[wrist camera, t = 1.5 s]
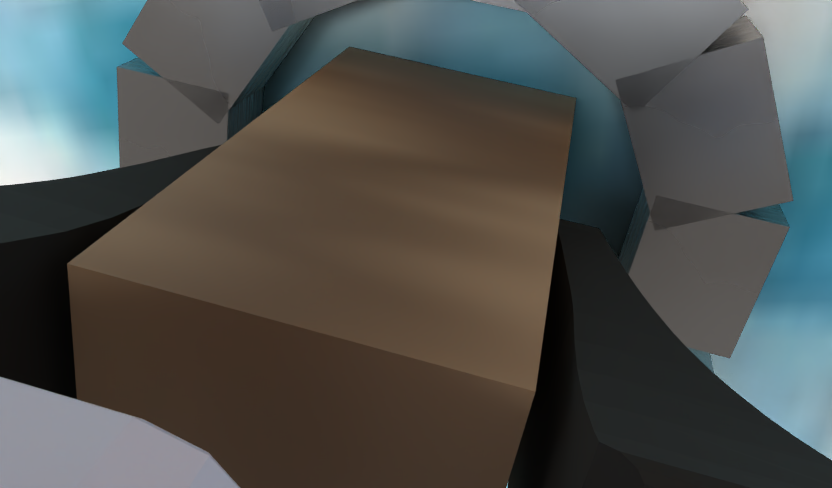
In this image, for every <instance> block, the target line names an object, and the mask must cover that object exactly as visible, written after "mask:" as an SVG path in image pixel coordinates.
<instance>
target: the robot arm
mask: <svg viewBox="0 0 832 488" xmlns="http://www.w3.org/2000/svg"><path fill="white" fill-rule="evenodd" d="M220 146H221V145H218V146H213V147H209V148H204V149H200V150H196V151H191V152H187V153H183V154H179V155H175V156H171V157H166V158H162V159H158V160H154V161H150V162H146V163H141V164H136V165H131V166H127V167H122V168H117V169H112V170H107V171H102V172H97V173H92V174H87V175H82V176H76V177H70V178H63V179H56V180H50V181H41V182H32V183H24V184H15V185H4V186H0V488H240V487H239V486H238V485H237V483H236V482H235V481H234V480H233V479H232V478H231V477H230V476H229V475H228V473H227V472H226V471H225V470H224V469H223V468H222V467H221V466H220V465H219V463H218V462H217V461H216V460H215V459H214V458H213V457H212V456H211V455H210V453H208V452H207V451H205V450H203V449H201V448H199V447H197V446H195V445H193V444H191V443H189V442H187V441H185V440H183V439H181V438H179V437H177V436H175V435H173V434H171V433H169V432H167V431H165V430H164V429H162V428H160V427H158V426H156V425H154V424H152V423H150V422H148V421H146V420H144V419H142V418H138V417H135V416H131V415H128V414H125V413H121V412H118V411H114V410H111V409H108V408H104V407H101V406H98V405H94V404H91V403H87V402H84V401H81V400H77V392H76V379H75V365H74V351H73V337H72V324H71V310H70V296H69V282H68V269H67V263H69V262H70V261H71V260H72V259H74V258H75V257H76V256H78V255H79V254H80V253H82V252H83V251H84V250H85V249H87V248H88V247H89V246H91V245H92V244H93V243H95V242H96V241H97V240H98V239H100V238H101V237H102V236H104V235H105V234H106V233H108V232H109V231H110V230H112V229H113V228H114V227H115V226H117V225H118V224H119V223H121V222H122V221H123V220H125V219H126V218H127V217H128V216H130V215H131V214H132V213H134V212H135V211H136V210H138V209H139V208H140V207H141V206H143V205H144V204H145V203H147V202H148V201H149V200H151V199H152V198H153V197H154V196H156V195H157V194H158V193H160V192H161V191H162V190H164V189H165V188H166V187H167V186H169V185H170V184H171V183H173V182H174V181H175V180H177V179H178V178H179V177H181V176H182V175H183V174H184V173H186V172H187V171H188V170H190V169H191V168H192V167H194V166H195V165H196V164H197V163H199V162H200V161H201V160H203V159H204V158H205V157H207V156H208V155H209V154H210V153H212V152H213V151H214V150H216V149H217V148H218V147H220ZM508 488H832V460H830V459H829V458H827V457H825V456H824V455H822V454H821V453H819V452H818V451H816V450H815V449H813V448H812V447H810V446H808V445H807V444H805V443H804V442H802V441H801V440H799V439H798V438H796V437H795V436H793V435H792V434H790V433H789V432H788V431H786V430H785V429H783V428H782V427H780V426H779V425H778V424H776V423H775V422H773V421H772V420H771V419H769V418H768V417H766V416H765V415H764V414H763V413H761V412H760V411H759V410H758V409H756V408H755V407H754V406H752V405H751V404H750V403H749V402H747V401H746V400H745V399H744V398H742V397H741V396H740V395H739V394H737V393H736V392H735V391H734V390H732V389H731V388H730V387H729V386H728V385H726V384H725V383H724V382H723V381H722V380H721V379H720V378H718V377H717V376H716V375H715V374H714V373H713V372H712V371H711V370H710V369H709V368H708V367H707V366H706V365H705V364H704V363H702V362H701V361H700V360H699V359H698V358H697V357H696V356H695V355H694V354H693V353H692V352H691V351H690V350H689V349H688V348H687V347H686V346H685V345H684V344H683V343H682V342H681V341H680V340H679V338H678V337H677V336H676V335H675V334H674V333H673V332H672V331H671V330H670V328H669V327H668V326H667V325H666V324H665V322H664V321H663V320H662V319H661V318H660V316H659V315H658V314H657V313H656V312H655V310H654V309H653V308H652V307H651V305H650V304H649V303H648V301H647V300H646V299H645V297H644V296H643V295H642V293H641V292H640V291H639V289H638V288H637V286H636V285H635V284H634V282H633V281H632V279H631V278H630V276H629V275H628V273H627V272H626V270H625V269H624V267H623V266H622V264H621V263H620V261H619V259H618V258H617V256H616V255H615V253H614V252H613V250H612V248H611V247H610V245H609V243H608V242H607V240H606V238H605V237H604V235H603V234H602V232H601V231H600V229H599V228H595V227H591V226H587V225H583V224H579V223H575V222H571V221H566V220H562V219H559V226H558V234H557V241H556V248H555V255H554V262H553V270H552V277H551V284H550V291H549V298H548V306H547V313H546V320H545V327H544V334H543V342H542V349H541V356H540V363H539V370H538V378H537V385H536V392H535V395H534V398H533V402H532V405H531V408H530V411H529V415H528V418H527V421H526V424H525V428H524V431H523V434H522V437H521V441H520V444H519V447H518V450H517V454H516V457H515V460H514V463H513V467H512V470H511V473H510V476H509V480H508Z"/></svg>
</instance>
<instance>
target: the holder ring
mask: <svg viewBox="0 0 832 488" xmlns="http://www.w3.org/2000/svg"><path fill="white" fill-rule="evenodd" d="M355 1H357V0H147V2H146V4H145V5H144V7H143V9H142V10H141V12H140V14H139V16H138V17H137V19H136V21H135V22H134V24H133V26H132V28H131V29H130V31H129V33H128V34H127V36H126V38H125V40H124V41H123V43H122V44H123V45H125V46H126V47H127V48H128V49H129V50H130V51H132V52H133V53H134V54H135V55H136V56H138V58H135V59H133V60H131V61H129V62H126V63H124V64H122V65H120V66H118V67H117V88H118V121H119V153H120V168H122V167H127V166H131V165H136V164H141V163H146V162H150V161H154V160H158V159H162V158H166V157H171V156H175V155H179V154H183V153H187V152H191V151H196V150H200V149H204V148H209V147H213V146H218V145H222V144H223V143H225V142H226V141H227V140H229V139H230V138H231V137H233V136H234V135H235V134H236V133H238V132H239V131H240V130H242V129H243V128H244V127H246V126H247V125H248V124H250V123H251V122H252V121H253V120H255V119H256V118H257V117H259V116H260V115H261V114H262V104H263V89H264V85H265V84H266V83H267V81H268V80H269V79H270V77H271V76H272V74H273V73H274V72H275V70H276V69H277V68H278V66H279V65H280V63H281V62H282V61H283V59H284V58H285V57H286V55H287V54H288V52H289V51H290V50H291V48H292V47H293V46H294V44H295V43H296V42H297V40H298V39H299V37H300V36H301V35H302V33H303V32H304V31H305V29H306V28H307V26H308V25H309V24H310V22H311V21H312V20H313V18H314V17H315V16H316V15H319V14H322V13H325V12H327V11H330V10H333V9H335V8H338V7H341V6H344V5H346V4H349V3H352V2H355ZM472 1H477V2H481V3H486V4H491V5H495V6H500V7H505V8H509V9H514V10H519V11H523V12H527V13H528V14H529V15H530V16H531V17H532V18H533V19H534V20H535V21H536V22H537V23H539V24H540V25H541V26H542V27H543V28H544V29H545V30H546V31H547V32H548V33H549V34H550V35H551V36H552V37H554V38H555V39H556V40H557V41H558V42H559V43H560V44H561V45H562V46H563V47H564V48H565V49H566V50H567V51H569V52H570V53H571V54H572V55H573V56H574V57H575V58H576V59H577V60H578V61H579V62H580V63H581V64H582V65H584V66H585V67H586V68H587V69H588V70H589V71H590V72H591V73H592V74H593V75H594V76H595V77H596V78H597V79H598V80H600V81H601V82H602V83H603V84H604V85H605V86H606V87H607V88H608V89H609V90H610V91H611V92H612V93H613V94H615V95H616V96H617V97H618V98H619V99H620V100H621V104H622V108H623V112H624V116H625V119H626V123H627V127H628V131H629V134H630V138H631V142H632V146H633V150H634V153H635V157H636V161H637V165H638V169H639V172H640V176H641V180H642V184H643V188H642V191H641V194H640V197H639V200H638V203H637V206H636V209H635V212H634V215H633V217H632V220H631V223H630V226H629V229H628V232H627V235H626V238H625V241H624V244H623V247H622V250H621V253H620V256H619V261H620V263H621V264H622V266H623V267H624V269H625V270H626V272H627V273H628V275H629V276H630V278H631V279H632V281H633V282H634V284H635V285H636V286H637V288H638V289H639V291H640V292H641V293H642V295H643V296H644V297H645V299H646V300H647V301H648V303H649V304H650V305H651V307H652V308H653V309H654V310H655V312H656V313H657V314H658V315H659V316H660V318H661V319H662V320H663V321H664V322H665V324H666V325H667V326H668V327H669V328H670V330H671V331H672V332H673V333H674V334H675V335H676V336H677V337H678V338H679V340H680V341H681V342H682V343H683V344H684V345H685V346H686V347H687V348H688V349H689V350H690V351H691V352H692V353H693V354H694V355H695V356H696V357H697V358H698V359H699V360H700V361H701V362H702V363H704V364H705V365H706V366H707V367H708V368H709V369H710V370H711V371H712V372H713V373H714V371H713V366H712V361H711V356H710V353H711V354H715V355H719V356H723V357H727V358H730V357H731V355H732V352H733V350H734V348H735V346H736V344H737V341H738V339H739V337H740V335H741V333H742V331H743V328H744V326H745V324H746V322H747V320H748V317H749V315H750V313H751V311H752V309H753V306H754V304H755V302H756V300H757V298H758V295H759V293H760V291H761V289H762V287H763V284H764V282H765V280H766V278H767V276H768V273H769V271H770V269H771V267H772V265H773V263H774V260H775V258H776V256H777V254H778V252H779V249H780V247H781V245H782V243H783V241H784V238H785V236H786V234H787V232H788V230H789V225H788V222H787V220H786V218H785V216H784V214H783V212H782V210H781V207H780V205H779V204H780V203H785V202H789V201H793V196H792V190H791V185H790V180H789V174H788V169H787V164H786V158H785V153H784V147H783V142H782V137H781V131H780V126H779V120H778V115H777V110H776V104H775V99H774V93H773V88H772V83H771V77H770V72H769V66H768V61H767V56H766V50H765V45H764V39H763V36H762V35H761V34H760V33H759V31H758V30H757V29H756V28H755V26H754V25H753V24H752V23H751V21H750V20H749V19H748V17H747V16H744V17H741V16H742V15H743V14H744V13H745V12H746V11H747V10H748V8H747V7H746V6H745V5H744V3H743V2H742V1H741V0H472ZM740 17H741V18H740Z"/></svg>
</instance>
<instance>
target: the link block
mask: <svg viewBox="0 0 832 488" xmlns="http://www.w3.org/2000/svg"><path fill="white" fill-rule="evenodd" d="M575 104H576V98H574V97H570V96H565V95H561V94H556V93H552V92H547V91H543V90H539V89H534V88H530V87H525V86H521V85H517V84H512V83H508V82H503V81H499V80H494V79H490V78H486V77H481V76H477V75H472V74H468V73H463V72H459V71H455V70H450V69H446V68H441V67H437V66H432V65H428V64H424V63H419V62H415V61H410V60H406V59H401V58H397V57H393V56H388V55H384V54H379V53H375V52H371V51H366V50H362V49H357V48H353V47H348V48H347V49H346V50H345V51H343V52H342V53H341V54H339V55H338V56H337V57H335V58H334V59H333V60H332V61H330V62H329V63H328V64H326V65H325V66H324V67H322V68H321V69H320V70H319V71H317V72H316V73H315V74H313V75H312V76H311V77H309V78H308V79H307V80H305V81H304V82H303V83H302V84H300V85H299V86H298V87H296V88H295V89H294V90H292V91H291V92H290V93H289V94H287V95H286V96H285V97H283V98H282V99H281V100H279V101H278V102H277V103H276V104H274V105H273V106H272V107H270V108H269V109H268V110H266V111H265V112H264V113H263V114H261V115H260V116H259V117H257V118H256V119H255V120H253V121H252V122H251V123H250V124H248V125H247V126H246V127H244V128H243V129H242V130H240V131H239V132H238V133H236V134H235V135H234V136H233V137H231V138H230V139H229V140H227V141H226V142H225V143H223V144H222V145H221V146H220V147H218V148H217V149H216V150H214V151H213V152H212V153H210V154H209V155H208V156H207V157H205V158H204V159H203V160H201V161H200V162H199V163H197V164H196V165H195V166H194V167H192V168H191V169H190V170H188V171H187V172H186V173H184V174H183V175H182V176H181V177H179V178H178V179H177V180H175V181H174V182H173V183H171V184H170V185H169V186H167V187H166V188H165V189H164V190H162V191H161V192H160V193H158V194H157V195H156V196H154V197H153V198H152V199H151V200H149V201H148V202H147V203H145V204H144V205H143V206H141V207H140V208H139V209H138V210H136V211H135V212H134V213H132V214H131V215H130V216H128V217H127V218H126V219H125V220H123V221H122V222H121V223H119V224H118V225H117V226H115V227H114V228H113V229H112V230H110V231H109V232H108V233H106V234H105V235H104V236H102V237H101V238H100V239H98V240H97V241H96V242H95V243H93V244H92V245H91V246H89V247H88V248H87V249H85V250H84V251H83V252H82V253H80V254H79V255H78V256H76V257H75V258H74V259H72V260H71V261H70V262H69V263H67V269H68V282H69V296H70V310H71V324H72V337H73V351H74V365H75V379H76V392H77V400H81V401H84V402H87V403H91V404H94V405H98V406H101V407H104V408H108V409H111V410H114V411H118V412H121V413H125V414H128V415H131V416H135V417H138V418H142V419H144V420H146V421H148V422H150V423H152V424H154V425H156V426H158V427H160V428H162V429H164V430H165V431H167V432H169V433H171V434H173V435H175V436H177V437H179V438H181V439H183V440H185V441H187V442H189V443H191V444H193V445H195V446H197V447H199V448H201V449H203V450H205V451H207V452H208V453H210V455H211V456H212V457H213V458H214V459H215V460H216V461H217V462H218V463H219V465H220V466H221V467H222V468H223V469H224V470H225V471H226V472H227V473H228V475H229V476H230V477H231V478H232V479H233V480H234V481H235V482H236V483H237V485H238V486H239V487H240V488H506V486H507V483H508V480H509V476H510V473H511V470H512V467H513V463H514V460H515V457H516V454H517V450H518V447H519V444H520V441H521V437H522V434H523V431H524V428H525V424H526V421H527V418H528V415H529V411H530V408H531V405H532V402H533V398H534V395H535V392H536V385H537V378H538V370H539V363H540V356H541V349H542V342H543V334H544V327H545V320H546V313H547V306H548V298H549V291H550V284H551V277H552V270H553V262H554V255H555V248H556V241H557V234H558V226H559V219H560V212H561V205H562V198H563V190H564V183H565V176H566V169H567V161H568V154H569V147H570V140H571V133H572V125H573V118H574V111H575Z"/></svg>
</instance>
